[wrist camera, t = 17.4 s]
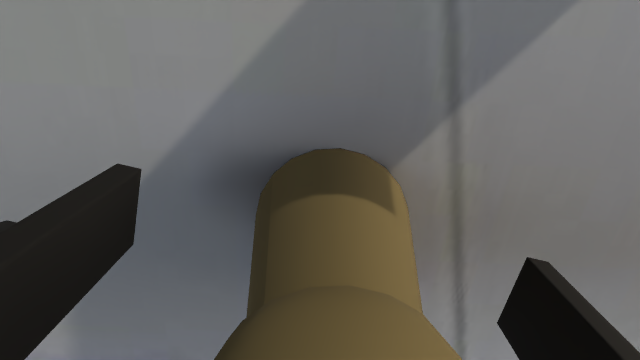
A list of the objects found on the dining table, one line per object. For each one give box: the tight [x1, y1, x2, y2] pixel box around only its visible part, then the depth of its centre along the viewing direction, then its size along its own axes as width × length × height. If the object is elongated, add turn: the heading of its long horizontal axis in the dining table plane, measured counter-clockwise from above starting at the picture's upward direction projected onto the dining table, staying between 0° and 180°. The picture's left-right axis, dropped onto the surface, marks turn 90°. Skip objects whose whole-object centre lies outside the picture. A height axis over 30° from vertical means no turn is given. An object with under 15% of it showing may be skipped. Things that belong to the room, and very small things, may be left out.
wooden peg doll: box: [214, 148, 462, 360], centre depth 11 cm, size 6×6×11 cm
